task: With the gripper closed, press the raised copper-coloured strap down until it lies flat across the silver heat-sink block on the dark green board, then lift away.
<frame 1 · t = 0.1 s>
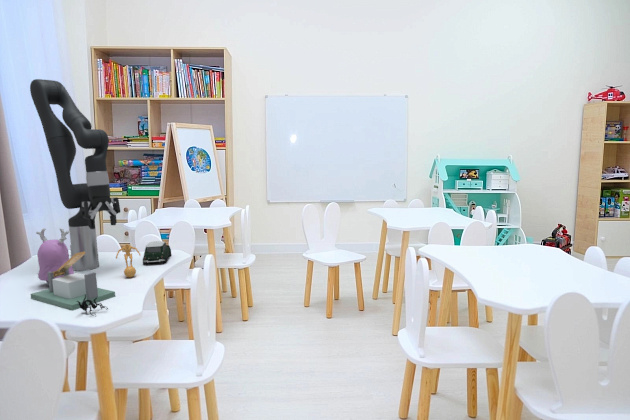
hand: (103, 227, 175), 17 cm above the table, tool pointing down, fingers open, 8 cm apart
toy character: (58, 284, 163), on the table
strap: (68, 264, 147), point 11 cm above the table, hinge at 30.0°
figurine: (130, 277, 170), on the table
miniature car: (157, 261, 194), on the table
creature: (95, 313, 134), on the table
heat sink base: (73, 297, 148), on the table
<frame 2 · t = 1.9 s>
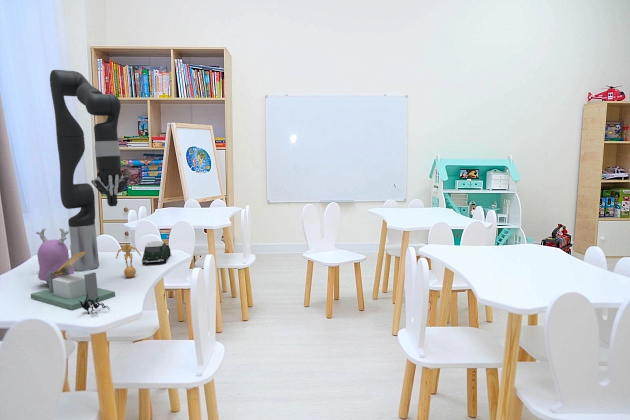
hand: (112, 206, 159), 27 cm above the table, tool pointing down, fingers closed
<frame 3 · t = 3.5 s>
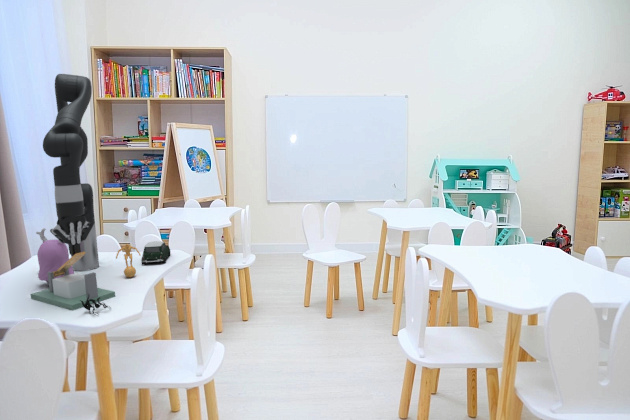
hand: (75, 255, 144), 14 cm above the table, tool pointing down, fingers closed
strap: (68, 264, 147), point 11 cm above the table, hinge at 29.8°, touching gripper
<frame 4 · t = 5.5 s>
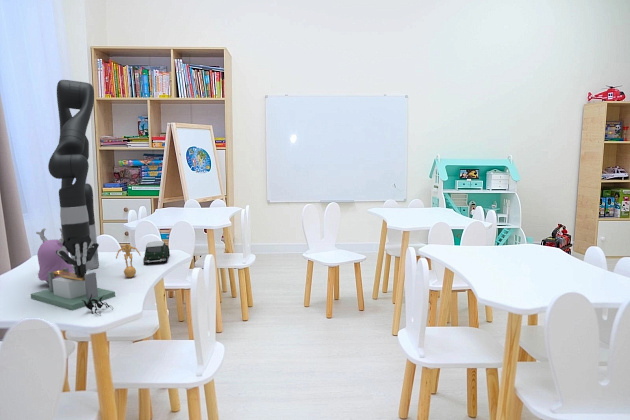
hand: (80, 276, 144), 8 cm above the table, tool pointing down, fingers closed
strap: (71, 275, 147), point 7 cm above the table, hinge at 1.1°, touching gripper
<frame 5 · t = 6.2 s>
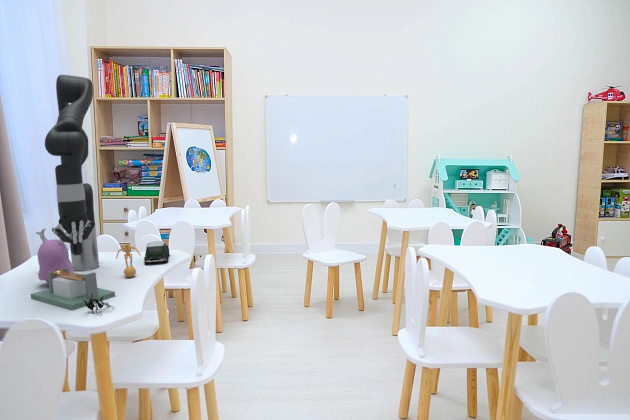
hand: (77, 254, 144), 14 cm above the table, tool pointing down, fingers closed
strap: (71, 275, 147), point 7 cm above the table, hinge at 1.1°
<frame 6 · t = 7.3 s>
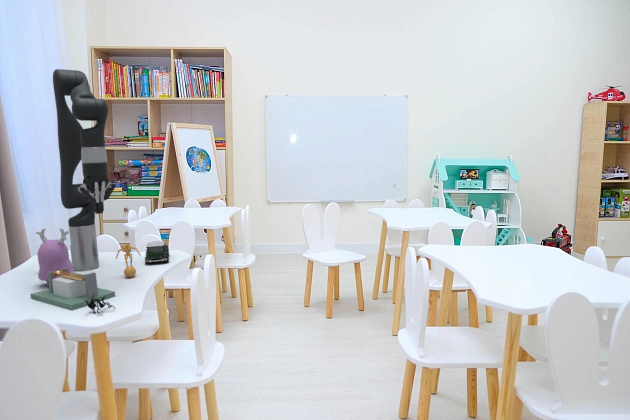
hand: (98, 213, 155), 25 cm above the table, tool pointing down, fingers closed
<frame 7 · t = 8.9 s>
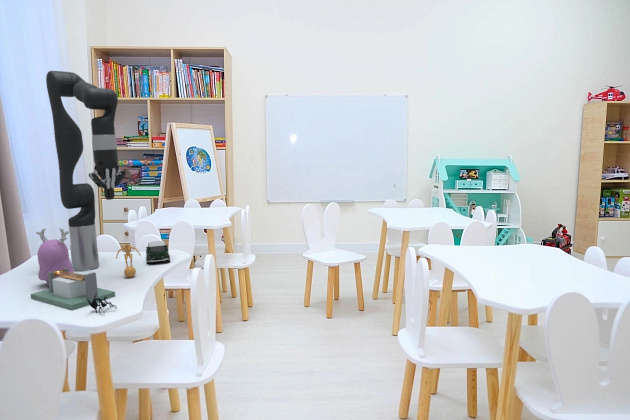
hand: (109, 199, 161), 29 cm above the table, tool pointing down, fingers closed
at the end: strap at +1° (first picture: +30°); strap touching nothing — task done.
